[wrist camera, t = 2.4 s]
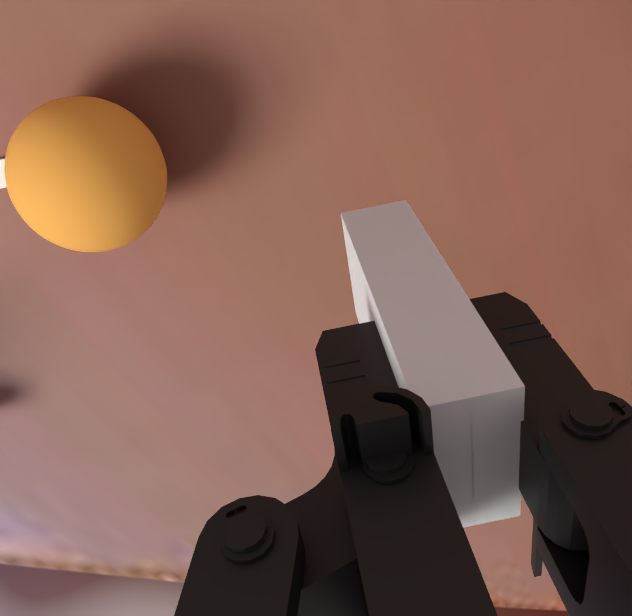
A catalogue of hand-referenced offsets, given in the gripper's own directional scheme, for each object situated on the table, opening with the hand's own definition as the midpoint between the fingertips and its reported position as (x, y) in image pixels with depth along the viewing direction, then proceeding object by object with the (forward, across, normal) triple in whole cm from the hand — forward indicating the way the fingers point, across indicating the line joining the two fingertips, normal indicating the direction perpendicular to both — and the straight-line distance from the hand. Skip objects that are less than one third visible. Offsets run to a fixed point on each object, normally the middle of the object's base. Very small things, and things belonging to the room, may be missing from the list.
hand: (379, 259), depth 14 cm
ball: (+12, +9, 0) cm, 15 cm away
